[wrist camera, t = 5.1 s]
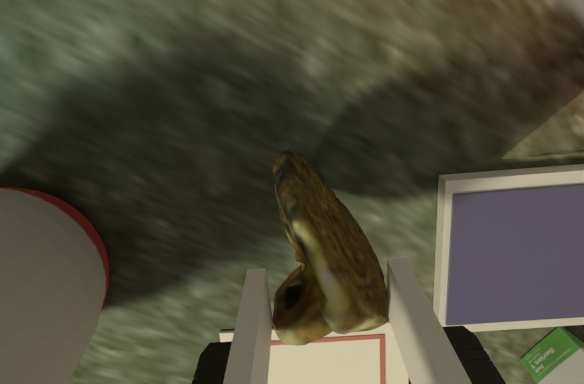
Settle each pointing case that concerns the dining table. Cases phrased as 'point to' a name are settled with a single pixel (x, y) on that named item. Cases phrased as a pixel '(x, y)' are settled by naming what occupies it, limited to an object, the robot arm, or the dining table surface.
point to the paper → (337, 359)
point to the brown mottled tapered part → (323, 261)
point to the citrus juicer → (47, 286)
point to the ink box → (556, 359)
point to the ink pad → (510, 248)
